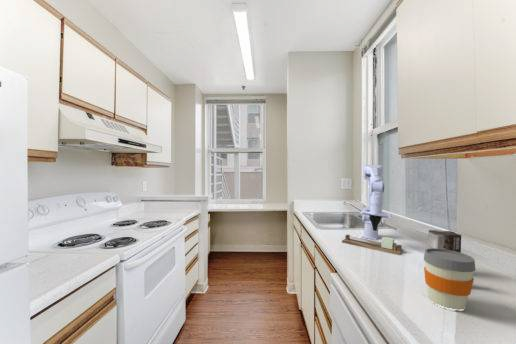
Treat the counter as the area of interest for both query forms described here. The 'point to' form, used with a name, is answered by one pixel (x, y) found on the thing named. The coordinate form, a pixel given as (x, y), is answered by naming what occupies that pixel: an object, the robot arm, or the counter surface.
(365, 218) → the robot arm
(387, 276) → the counter surface
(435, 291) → the reusable coffee cup
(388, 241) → the sleeve
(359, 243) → the rod board
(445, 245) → the coffee box
